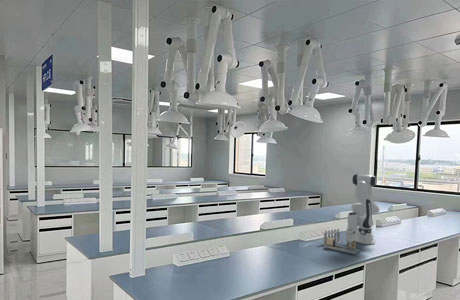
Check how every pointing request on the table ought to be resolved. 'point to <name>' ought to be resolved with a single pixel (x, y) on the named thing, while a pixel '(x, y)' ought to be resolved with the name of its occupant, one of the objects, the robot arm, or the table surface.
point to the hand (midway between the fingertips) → (352, 245)
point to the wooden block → (352, 245)
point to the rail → (339, 247)
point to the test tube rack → (332, 236)
